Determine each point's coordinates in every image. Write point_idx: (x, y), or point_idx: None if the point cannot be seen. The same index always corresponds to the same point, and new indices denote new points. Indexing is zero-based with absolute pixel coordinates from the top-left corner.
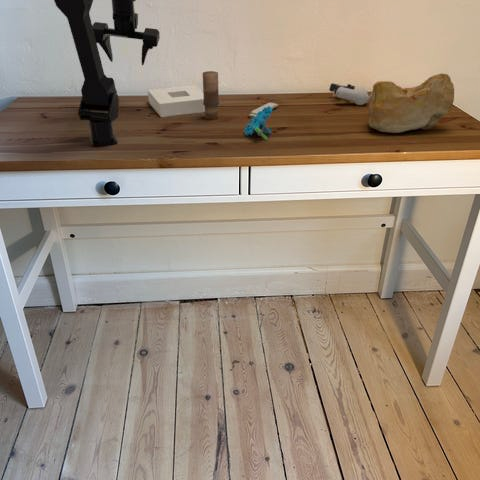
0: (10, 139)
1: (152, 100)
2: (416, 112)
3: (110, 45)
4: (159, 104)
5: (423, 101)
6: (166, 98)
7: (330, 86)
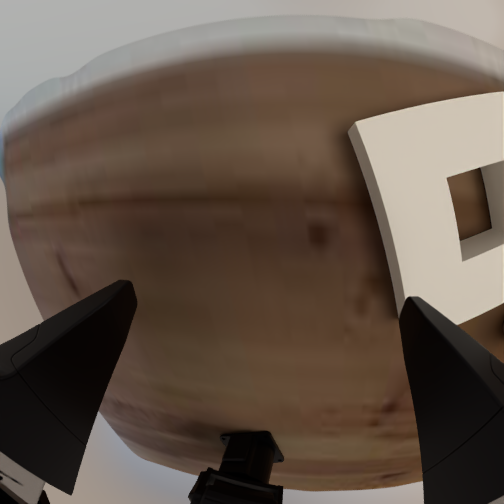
0: None
1: (379, 209)
2: None
3: (44, 359)
4: None
5: None
6: (443, 272)
7: None
